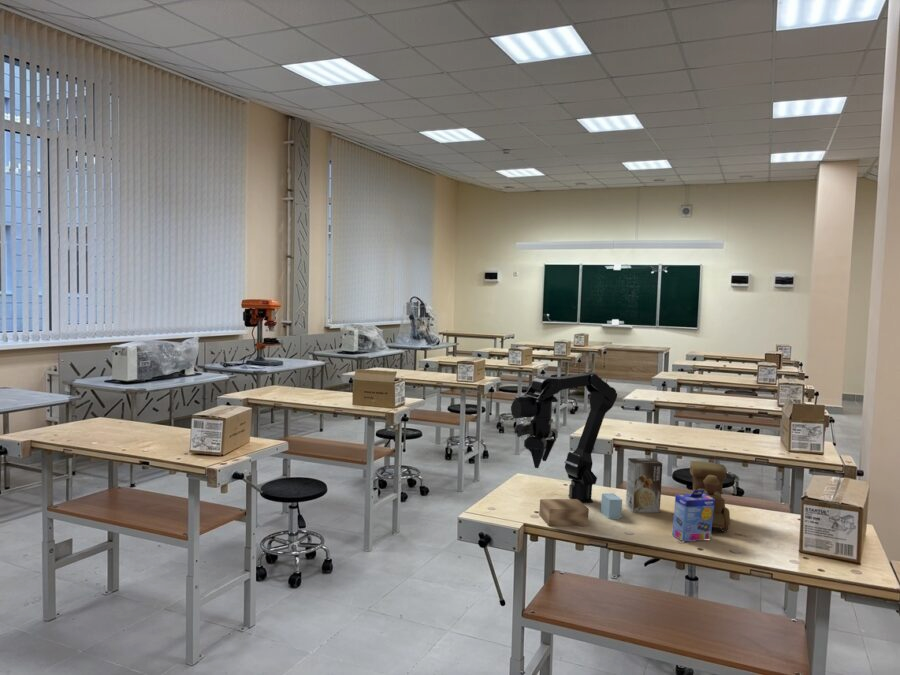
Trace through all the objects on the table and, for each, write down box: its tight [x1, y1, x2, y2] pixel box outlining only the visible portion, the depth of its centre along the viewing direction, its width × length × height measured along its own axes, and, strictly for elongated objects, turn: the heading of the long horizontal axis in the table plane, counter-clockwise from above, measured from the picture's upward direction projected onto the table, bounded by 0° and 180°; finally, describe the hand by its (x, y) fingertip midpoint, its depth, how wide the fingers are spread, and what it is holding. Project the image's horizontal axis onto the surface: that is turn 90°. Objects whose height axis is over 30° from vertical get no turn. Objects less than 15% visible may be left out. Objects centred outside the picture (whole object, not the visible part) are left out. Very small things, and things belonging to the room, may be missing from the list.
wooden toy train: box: [689, 460, 731, 532], centre depth 190 cm, size 20×11×17 cm, turn 163°
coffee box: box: [625, 457, 664, 513], centre depth 200 cm, size 9×6×16 cm
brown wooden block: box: [538, 498, 590, 527], centre depth 186 cm, size 12×9×5 cm
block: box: [600, 492, 623, 520], centre depth 193 cm, size 4×6×6 cm, turn 9°
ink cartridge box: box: [671, 490, 715, 542], centre depth 177 cm, size 10×6×14 cm, turn 108°
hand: (540, 464), depth 198 cm, fingers open, 9 cm apart
